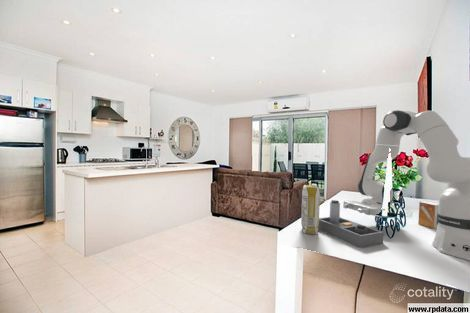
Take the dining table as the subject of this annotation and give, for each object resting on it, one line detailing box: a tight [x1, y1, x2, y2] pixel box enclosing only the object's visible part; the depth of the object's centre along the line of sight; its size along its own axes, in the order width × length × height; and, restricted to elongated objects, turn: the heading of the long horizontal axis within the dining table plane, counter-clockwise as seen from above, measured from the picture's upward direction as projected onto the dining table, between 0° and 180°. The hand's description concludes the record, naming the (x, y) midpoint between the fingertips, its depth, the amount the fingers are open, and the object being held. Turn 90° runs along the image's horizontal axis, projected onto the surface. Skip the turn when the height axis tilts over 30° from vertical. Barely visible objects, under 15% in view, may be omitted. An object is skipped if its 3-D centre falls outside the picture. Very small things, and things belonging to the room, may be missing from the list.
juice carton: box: [300, 183, 321, 235], centre depth 112 cm, size 9×8×24 cm
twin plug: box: [355, 224, 367, 235], centre depth 102 cm, size 5×5×5 cm
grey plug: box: [329, 199, 341, 224], centre depth 116 cm, size 5×5×13 cm
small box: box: [418, 200, 439, 230], centre depth 126 cm, size 8×6×13 cm
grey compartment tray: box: [318, 216, 384, 249], centre depth 109 cm, size 26×14×6 cm, turn 23°
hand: (351, 208), depth 120 cm, fingers open, 8 cm apart
